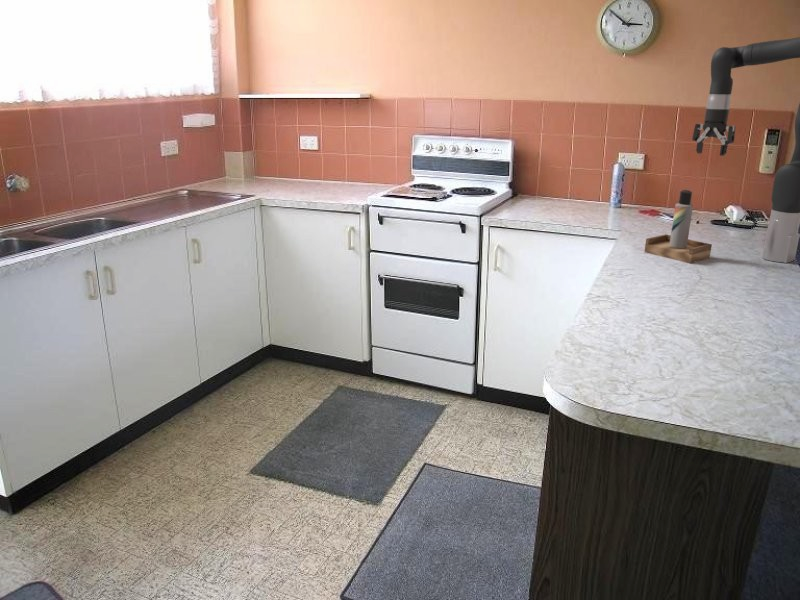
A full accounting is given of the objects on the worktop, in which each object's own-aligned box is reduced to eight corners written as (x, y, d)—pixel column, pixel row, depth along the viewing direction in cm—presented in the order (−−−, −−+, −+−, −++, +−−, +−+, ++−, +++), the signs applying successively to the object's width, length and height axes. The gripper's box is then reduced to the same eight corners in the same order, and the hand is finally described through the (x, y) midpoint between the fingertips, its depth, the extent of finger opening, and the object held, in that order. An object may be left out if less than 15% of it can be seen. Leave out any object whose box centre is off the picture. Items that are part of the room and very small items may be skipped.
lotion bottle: (683, 245, 239) (692, 189, 232) (688, 249, 233) (697, 192, 227) (667, 244, 239) (675, 189, 233) (671, 248, 234) (680, 191, 227)
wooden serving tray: (709, 258, 234) (711, 244, 232) (690, 263, 227) (692, 249, 225) (663, 247, 247) (665, 234, 246) (644, 252, 241) (646, 238, 239)
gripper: (743, 108, 232) (735, 155, 237) (704, 106, 243) (697, 151, 248) (732, 108, 227) (724, 157, 233) (693, 107, 238) (686, 153, 243)
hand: (710, 154), depth 240 cm, fingers open, 8 cm apart
